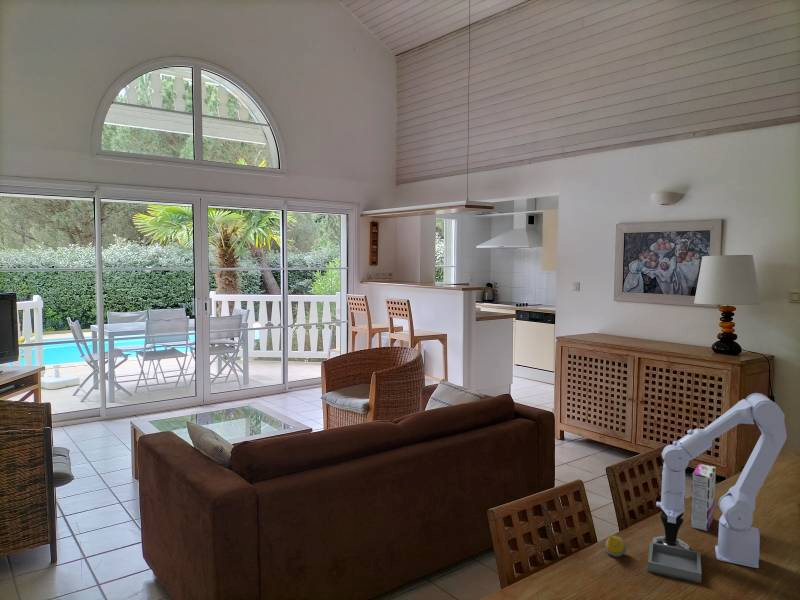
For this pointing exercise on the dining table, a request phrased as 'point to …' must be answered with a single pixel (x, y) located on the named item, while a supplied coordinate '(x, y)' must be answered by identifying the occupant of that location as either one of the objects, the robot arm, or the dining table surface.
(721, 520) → the robot arm
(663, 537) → the seat ring
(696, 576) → the tray
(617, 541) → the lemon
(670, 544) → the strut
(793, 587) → the dining table surface
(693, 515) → the candy bar box
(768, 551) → the dining table surface
